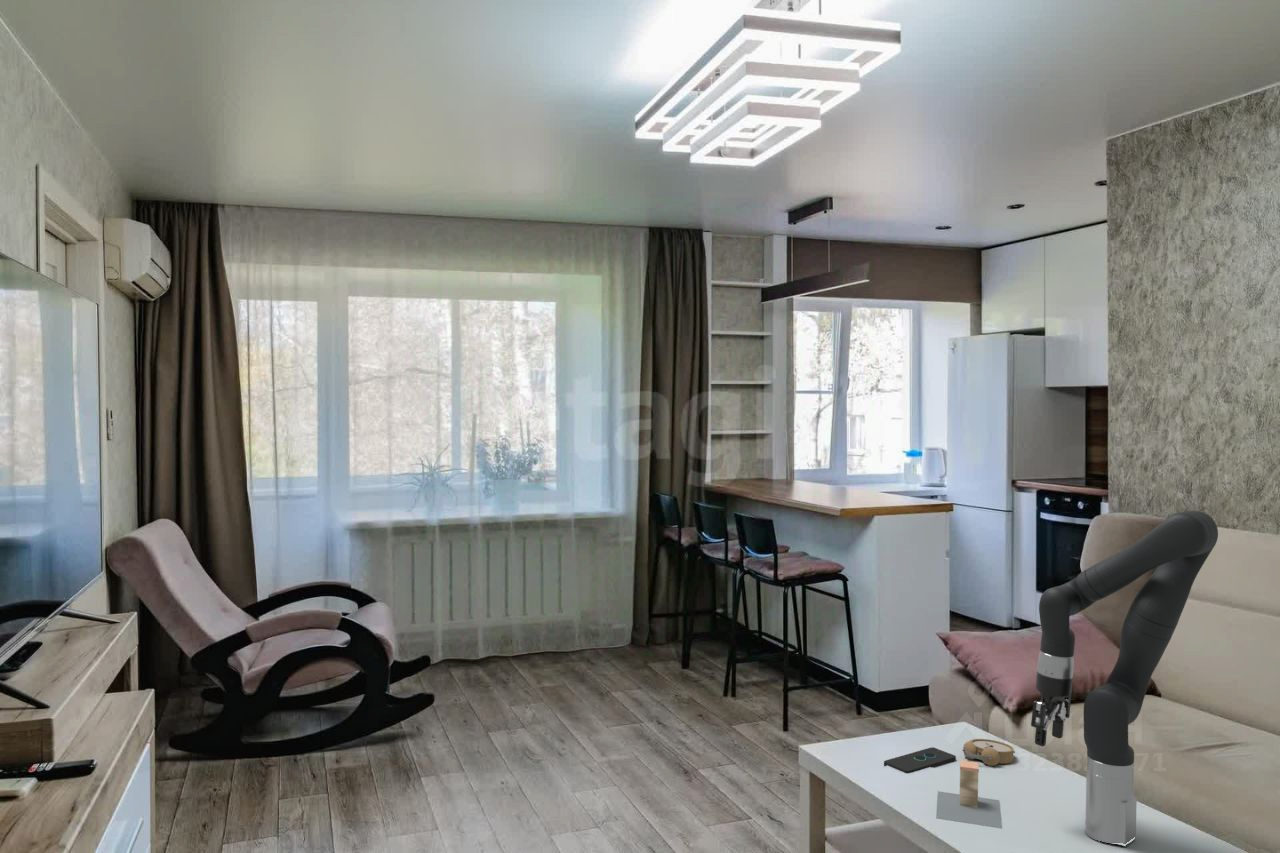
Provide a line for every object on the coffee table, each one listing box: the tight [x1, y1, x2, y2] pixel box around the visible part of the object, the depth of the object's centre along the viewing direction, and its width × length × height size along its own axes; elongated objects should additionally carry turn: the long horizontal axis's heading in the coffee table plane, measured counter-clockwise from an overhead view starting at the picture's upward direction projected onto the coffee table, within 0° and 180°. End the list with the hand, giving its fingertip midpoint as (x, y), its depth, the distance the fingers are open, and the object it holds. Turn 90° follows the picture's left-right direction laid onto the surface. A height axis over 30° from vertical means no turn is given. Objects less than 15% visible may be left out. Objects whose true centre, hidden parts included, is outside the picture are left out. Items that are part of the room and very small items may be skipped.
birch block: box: [959, 760, 980, 808], centre depth 217 cm, size 4×4×9 cm
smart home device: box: [883, 746, 957, 774], centre depth 243 cm, size 8×2×20 cm
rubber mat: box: [935, 790, 1003, 829], centre depth 214 cm, size 14×16×1 cm
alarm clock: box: [962, 738, 1016, 767], centre depth 247 cm, size 11×5×15 cm
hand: (1048, 741), depth 212 cm, fingers open, 8 cm apart
